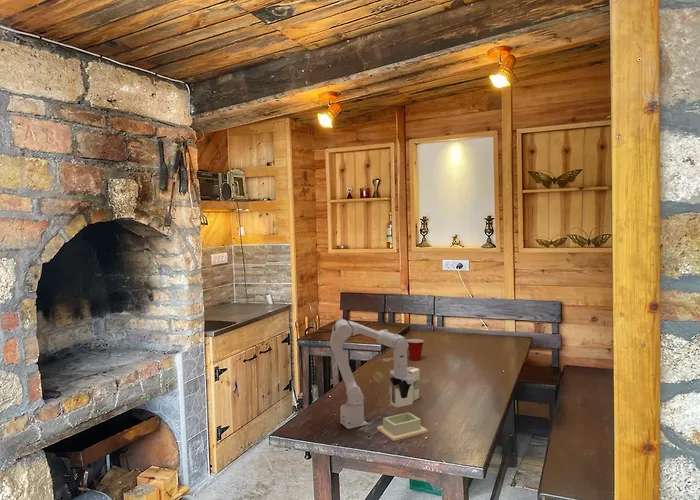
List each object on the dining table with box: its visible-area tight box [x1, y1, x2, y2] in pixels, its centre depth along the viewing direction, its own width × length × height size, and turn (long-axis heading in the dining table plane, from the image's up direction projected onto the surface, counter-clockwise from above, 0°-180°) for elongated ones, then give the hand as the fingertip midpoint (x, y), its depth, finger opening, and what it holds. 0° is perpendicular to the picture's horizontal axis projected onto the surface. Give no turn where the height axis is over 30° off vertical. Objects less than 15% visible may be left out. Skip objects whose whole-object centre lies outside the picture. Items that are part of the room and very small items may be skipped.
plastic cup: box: [406, 338, 425, 362], centre depth 311 cm, size 11×11×12 cm
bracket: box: [389, 384, 413, 408], centre depth 221 cm, size 8×4×8 cm, turn 117°
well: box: [376, 411, 429, 442], centre depth 211 cm, size 16×13×5 cm
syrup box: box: [407, 366, 421, 403], centre depth 246 cm, size 6×6×14 cm
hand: (401, 395), depth 221 cm, fingers closed on bracket, 4 cm apart
